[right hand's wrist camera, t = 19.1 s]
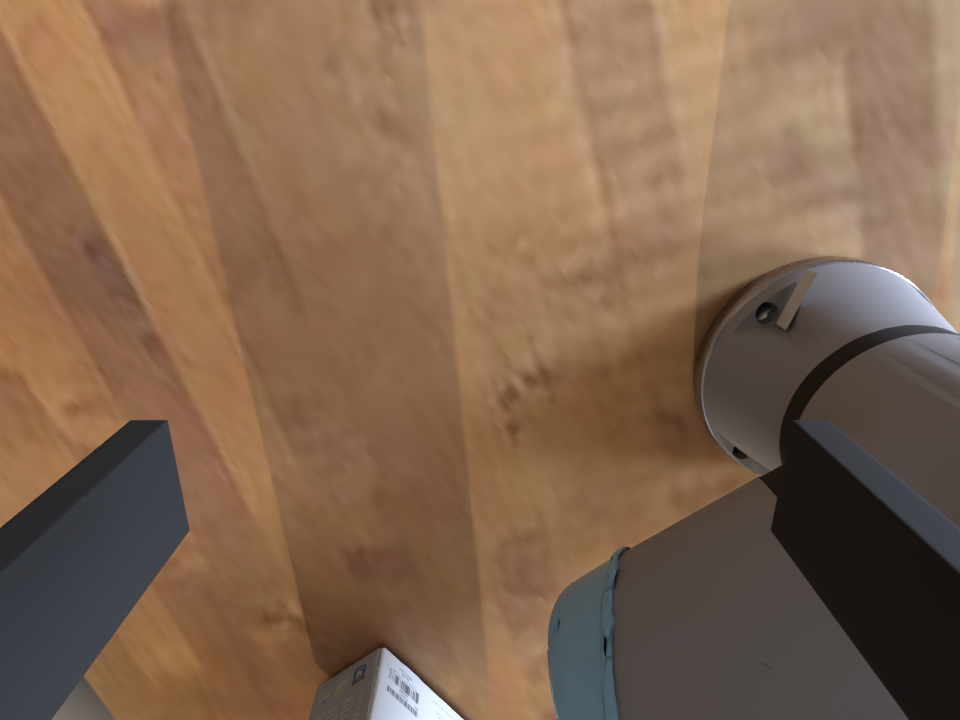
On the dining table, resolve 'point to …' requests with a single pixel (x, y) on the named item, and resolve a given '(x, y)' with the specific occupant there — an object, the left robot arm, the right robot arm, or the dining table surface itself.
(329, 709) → the hard drive box
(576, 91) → the dining table surface
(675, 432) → the dining table surface
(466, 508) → the dining table surface
